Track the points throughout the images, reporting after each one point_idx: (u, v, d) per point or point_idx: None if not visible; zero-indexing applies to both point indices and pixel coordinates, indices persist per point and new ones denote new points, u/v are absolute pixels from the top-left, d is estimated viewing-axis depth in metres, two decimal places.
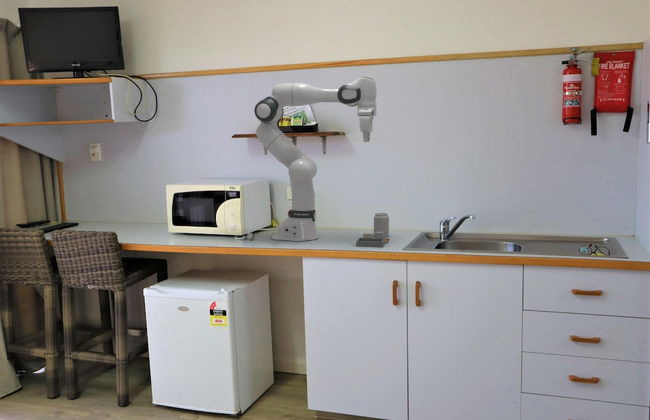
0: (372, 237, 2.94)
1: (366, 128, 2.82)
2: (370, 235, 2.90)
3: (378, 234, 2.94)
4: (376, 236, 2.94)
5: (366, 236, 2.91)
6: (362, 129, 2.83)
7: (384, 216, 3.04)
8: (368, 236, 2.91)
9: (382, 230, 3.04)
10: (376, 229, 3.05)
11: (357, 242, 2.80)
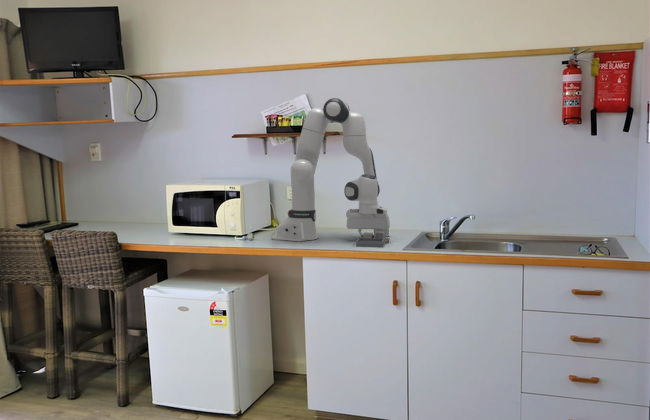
0: None
1: (389, 225, 2.91)
2: (370, 235, 2.90)
3: (378, 234, 2.94)
4: (376, 236, 2.94)
5: (366, 236, 2.91)
6: (389, 227, 2.90)
7: None
8: (368, 236, 2.91)
9: (382, 230, 3.04)
10: None
11: (357, 242, 2.80)
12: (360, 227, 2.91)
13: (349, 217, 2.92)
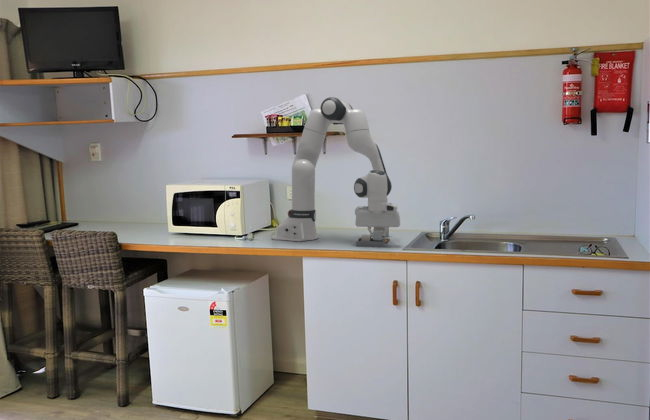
0: (370, 240, 2.85)
1: None
2: (368, 238, 2.81)
3: (376, 233, 2.80)
4: (374, 235, 2.81)
5: (364, 239, 2.82)
6: (399, 224, 2.79)
7: None
8: (366, 239, 2.81)
9: None
10: (376, 229, 3.05)
11: (357, 242, 2.80)
12: (370, 225, 2.81)
13: (358, 215, 2.81)
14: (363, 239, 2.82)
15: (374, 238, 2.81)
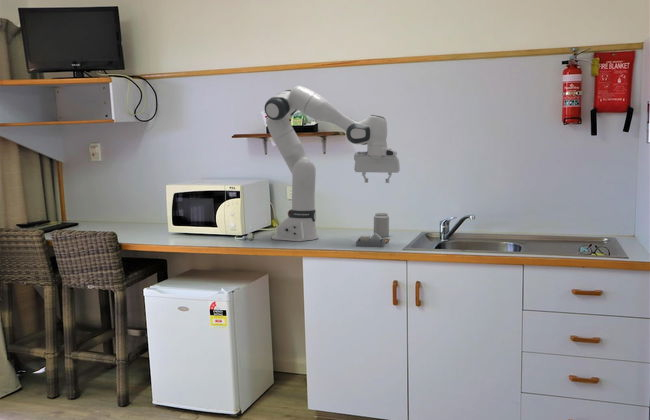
0: None
1: (399, 169, 2.78)
2: (367, 238, 2.81)
3: (372, 238, 2.81)
4: None
5: (363, 239, 2.82)
6: (399, 170, 2.76)
7: (384, 216, 3.04)
8: (365, 239, 2.82)
9: (382, 230, 3.04)
10: (376, 229, 3.05)
11: (357, 242, 2.80)
12: (369, 170, 2.78)
13: (357, 160, 2.78)
14: (362, 240, 2.82)
15: None
